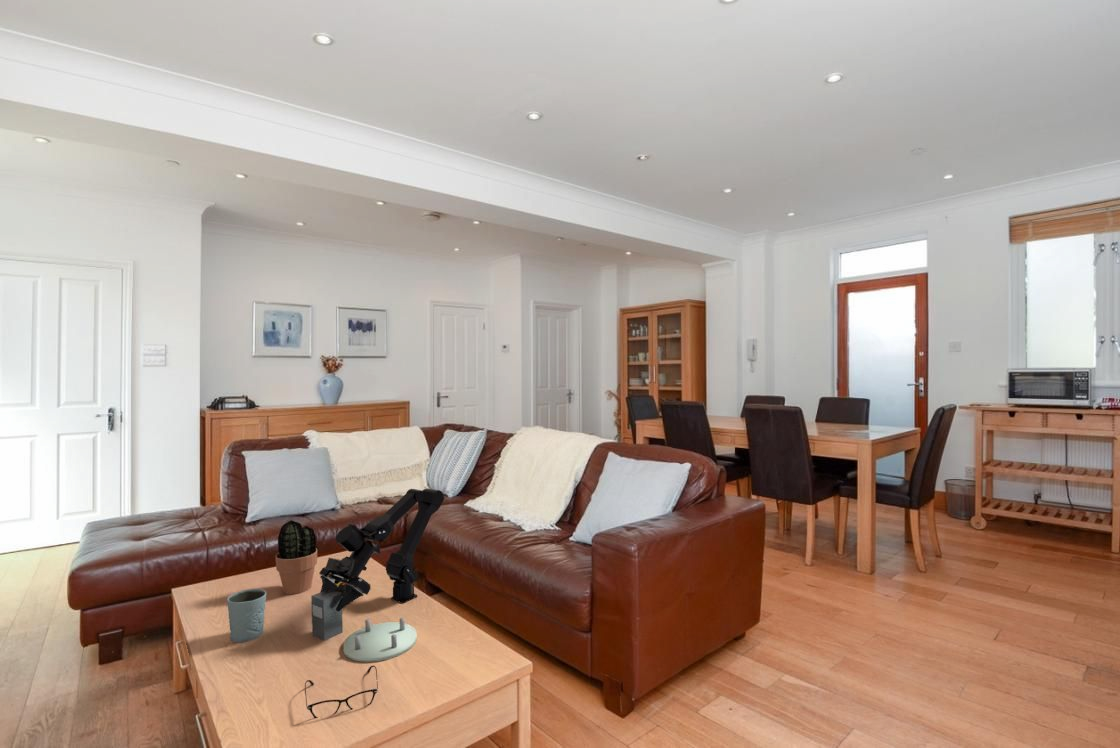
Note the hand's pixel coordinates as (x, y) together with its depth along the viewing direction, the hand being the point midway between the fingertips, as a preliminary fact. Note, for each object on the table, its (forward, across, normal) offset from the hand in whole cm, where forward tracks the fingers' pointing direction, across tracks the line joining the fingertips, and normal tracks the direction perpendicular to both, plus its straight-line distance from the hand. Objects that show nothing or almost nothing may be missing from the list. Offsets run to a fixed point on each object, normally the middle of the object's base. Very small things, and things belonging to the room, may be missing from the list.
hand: (327, 607), depth 164 cm
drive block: (+6, 0, +6) cm, 8 cm away
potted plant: (-4, -39, +16) cm, 42 cm away
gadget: (-9, -22, +20) cm, 32 cm away
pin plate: (+2, +18, +9) cm, 20 cm away
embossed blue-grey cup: (+15, -20, -3) cm, 25 cm away
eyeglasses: (+18, +30, -5) cm, 35 cm away
